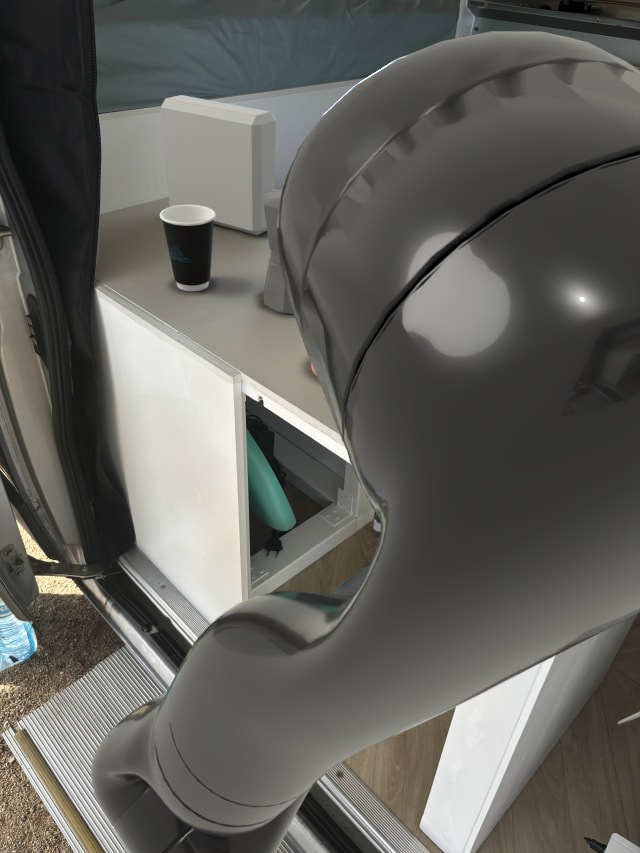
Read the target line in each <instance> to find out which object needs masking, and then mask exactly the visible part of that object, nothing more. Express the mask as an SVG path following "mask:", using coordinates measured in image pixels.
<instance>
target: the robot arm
mask: <svg viewBox="0 0 640 853" xmlns="http://www.w3.org/2000/svg"><path fill="white" fill-rule="evenodd" d="M281 188H282V193H281V198H280V202H279V207H278V218H277V241H278V248H279V255H280V262H281V269H282V274H283V278H284V282H285V286H286V290H287V294H288V298H289V301H290V304H291V307H292V310H293V313H294V314H293V316H294V319H295V322H296V324H297V327H298V331H299V333H300V336H301V339H302V342H303V345H304V348H305V350H306V353H307V355H308V357H309V358H310V363H311V362H312V364H313V367H314V369H315V372H316V374H317V376H316V377H317V379H318V382H319V384H320V387H321V389H322V392H323V394H324V398H325V400H326V402H327V405H328V407H329V411H330V413H331V415H332V419H333V421H334V423H335V425H336V428H337V430H338V433H339V436H340V438H341V441H342V443H343V445H344V447H345V449H346V452H347V456H348V460H349V462H350V465H351V467H352V471H353V472H354V474H355V477H356V479H357V481H358V483H359V484H360V486H361V488H362V490H363V492H364V494H365V496H366V498H367V499H368V503H369V504H370V506H371V507H372V509H373V511H374V512H373V517H372V523H371V524H372V525H371V526H372V527H371V535H372V536H373V537H374V538H376V539H378V541H377V546H376V549H375V551H374V554H373V556H372V558H371V559H370V560H369V561H367V562H366V563H365V564H364V565H362V566H361V567H360V568H359V569H358V570H356V571H355V572H353V573H352V574H351V575H350V576H348V577H346V579H345V580H343V581H342V582H340V584H338V585H337V586H336V587H335V588H333V589H332V590H331V591H330V592H329V593H328V592H321V591H305V590H279V591H274V592H268V593H262V594H258V595H256V596H253V597H250V598H248V599H246V600H243V601H241V602H238V603H237V604H235V605H233V606H232V607H230V608H229V609H227V610H226V611H225V612H223V613H221V614H220V615H219V616H217V617H216V618H214V620H213V621H212V622H211V623H210V624H209V625H208V626H207V627H206V628H205V630H204V631H202V633H201V634H200V635H199V636H198V637H197V639H195V641H194V643H193V644H192V646H191V647H190V649H189V651H188V652H187V654H186V655H185V657H184V659H183V660H182V662H181V664H180V666H179V668H178V670H177V671H176V673H175V676H174V677H173V679H172V681H171V683H170V685H169V687H168V689H167V691H166V692H165V693H162V694H160V695H157V696H156V697H154V698H151V699H150V700H148V701H147V702H145V703H143V704H141V705H140V706H139V707H137V708H135V709H134V710H132V711H130V712H129V713H128V714H127V715H126V716H124V717H123V718H121V719H120V721H118V723H116V724H115V726H113V727H112V728H111V730H110V731H108V733H107V734H106V735H105V737H103V739H102V741H101V742H100V744H99V746H98V747H97V749H96V751H95V753H94V756H93V759H92V762H91V766H90V767H91V769H90V777H91V778H90V779H91V785H92V790H93V795H94V796H95V799H96V801H97V804H98V806H99V807H100V809H101V810H102V812H103V814H104V816H105V817H106V819H107V820H108V822H109V824H110V825H111V826H112V827H113V830H114V832H115V833H116V834H117V836H118V838H119V839H120V841H121V843H122V844H123V845H124V847H125V849H126V850H127V853H277V851H278V850H279V848H280V846H281V844H282V842H283V840H284V838H285V836H286V834H287V832H288V830H289V829H290V826H291V825H292V822H293V821H294V818H295V816H297V813H298V811H299V809H300V808H301V807H302V804H303V802H304V800H305V799H306V797H307V795H308V793H309V792H310V790H311V789H312V787H313V786H314V785H315V784H316V783H318V781H319V780H320V779H321V778H323V777H324V776H325V775H326V774H327V773H329V772H330V771H332V770H333V769H334V768H336V767H337V766H339V765H341V763H343V762H344V761H346V760H348V759H349V758H351V757H353V756H355V755H357V754H358V753H361V752H362V751H365V750H367V749H369V748H371V747H374V746H376V745H378V744H380V743H382V742H384V741H387V740H388V739H391V738H393V737H395V736H398V735H401V734H402V733H404V732H406V731H408V730H411V729H413V728H415V727H417V726H420V725H422V724H423V723H426V722H428V721H430V720H432V719H435V718H436V717H438V716H440V715H442V714H444V713H446V712H448V711H450V710H453V709H454V708H456V707H459V706H460V705H463V704H464V703H466V702H468V701H470V700H473V699H474V698H475V699H476V698H477V697H478V696H480V695H482V694H485V693H486V692H488V691H490V690H493V689H495V688H496V687H498V686H500V685H501V684H503V683H506V682H507V681H509V680H511V679H513V678H515V677H517V676H518V675H519V676H520V674H522V673H524V672H526V671H528V670H530V669H532V668H534V667H536V666H538V665H539V664H542V663H544V662H546V661H547V660H550V659H552V658H554V657H555V656H558V655H559V654H562V653H563V652H566V651H568V650H570V649H572V648H573V647H575V646H577V645H579V644H581V643H583V642H585V641H588V640H589V639H591V638H593V637H595V636H597V635H599V634H601V633H602V632H603V633H604V632H605V631H606V630H608V629H611V628H612V627H614V626H616V625H618V624H620V623H622V622H624V621H626V620H627V619H630V618H631V617H633V616H635V615H637V614H639V613H640V70H639V69H638V68H636V67H635V66H633V65H632V64H630V63H629V62H628V61H626V60H624V59H622V58H620V57H618V56H616V55H614V54H612V53H610V52H608V51H606V50H605V49H602V48H600V47H598V46H597V45H594V44H592V43H590V42H589V41H584V40H581V39H577V38H573V37H569V36H565V35H559V34H554V33H551V32H545V31H538V30H537V31H536V30H534V31H533V30H528V31H526V30H525V31H524V30H523V31H518V30H512V31H511V30H507V31H505V30H504V31H503V30H501V31H500V30H498V31H497V30H496V31H495V30H491V31H486V32H481V33H477V34H472V35H467V36H462V37H461V36H460V37H457V38H451V39H447V40H442V41H439V42H437V43H435V44H432V45H430V46H427V47H425V48H422V49H420V50H417V51H415V52H412V53H409V54H407V55H405V56H402V57H399V58H396V59H395V60H393V61H391V62H390V63H388V64H387V65H384V66H383V67H382V68H381V69H379V70H377V71H376V72H374V73H372V74H371V75H369V76H368V77H366V78H364V79H363V80H361V81H360V82H358V83H357V84H355V85H354V86H352V87H351V89H349V90H348V91H347V92H346V93H345V94H344V95H343V96H342V97H341V98H340V99H338V101H336V102H335V103H334V104H333V105H332V106H331V107H330V108H329V109H328V110H326V112H325V113H323V114H322V115H321V116H320V117H319V119H318V121H317V122H316V123H315V124H314V127H313V128H312V129H311V130H310V132H309V133H308V135H307V136H306V138H304V141H303V142H302V143H301V144H300V146H299V147H298V148H297V150H296V153H295V155H294V158H293V160H292V162H291V165H290V167H289V170H288V173H287V175H286V176H285V179H284V182H283V184H282V187H281Z"/></svg>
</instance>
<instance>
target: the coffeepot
mask: <svg viewBox="0 0 640 853" xmlns="http://www.w3.org/2000/svg"><path fill="white" fill-rule="evenodd" d="M282 188H283V187H277V188H275V189H270V190H271V193H268V194H265V195H263V204H264V211H265V219H266V226H267V231H266V233H267V240H268V247H269V250H270V256H269V258H268V264H267V270H266V275H265V280H264V281H265V282H264V287H263V293H262V295H263V296H262V297H263V305H264V306H265V307H267V308H269V309H270V310H272V311H274V312H276V313H280V314H286V315H294V313H293V310H292V307H291V304H290V301H289V298H288V294H287V290H286V286H285V282H284V278H283V274H282V269H281V262H280V255H279V248H278V241H277V218H278V207H279V202H280V198H281V193H282Z"/></svg>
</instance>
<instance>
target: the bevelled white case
mask: <svg viewBox="0 0 640 853" xmlns="http://www.w3.org/2000/svg"><path fill="white" fill-rule="evenodd" d="M160 109H161V110H160V111H161V122H162V124H161V125H162V134H163V147H164V157H165V169H166V180H167V192H168V204H169V207H172V206H177V205H199V206H204V207H208V208H210V209H212V210H213V211H214V212H215V214H216V217H215V218H214V225H216V226H221V227H224V228H228V229H232V230H235V231H239V232H241V233H245V234H251V235H253V236H259V235H261V234H263V233H265V232H267V226H266V219H265V211H264V204H263V195H265V194H268V193H271V190H270V189H276V126H277V124H276V122H277V121H276V118H275V116H274V114H273V113H272V111H269V110H265V109H264V110H263V109H258V108H254V107H247V106H244V105H243V106H242V105H238V104H231V103H227V102H221V101H215V100H212V99H211V100H210V99H205V98H201V97H195V96H189V95H183V94H180V95H176V96H170V97H166V98H165V99H164V100H163V102H162V104H161V106H160Z"/></svg>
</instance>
